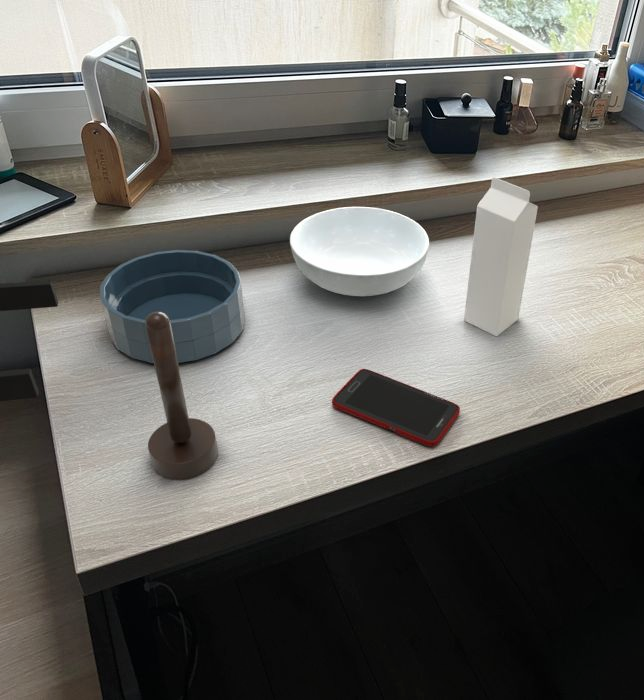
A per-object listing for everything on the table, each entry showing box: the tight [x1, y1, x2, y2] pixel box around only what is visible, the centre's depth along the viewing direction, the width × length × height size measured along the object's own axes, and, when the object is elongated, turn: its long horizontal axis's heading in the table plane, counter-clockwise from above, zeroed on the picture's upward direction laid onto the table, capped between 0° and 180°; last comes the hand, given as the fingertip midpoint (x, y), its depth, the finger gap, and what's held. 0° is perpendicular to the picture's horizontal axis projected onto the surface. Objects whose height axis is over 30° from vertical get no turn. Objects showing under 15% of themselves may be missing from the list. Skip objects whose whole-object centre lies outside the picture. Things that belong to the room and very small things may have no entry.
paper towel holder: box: [145, 312, 219, 481], centre depth 75 cm, size 7×7×20 cm
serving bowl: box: [289, 206, 430, 297], centre depth 111 cm, size 21×21×7 cm
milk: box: [463, 176, 539, 337], centre depth 101 cm, size 6×6×22 cm
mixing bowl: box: [99, 249, 246, 364], centre depth 97 cm, size 17×17×7 cm
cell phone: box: [331, 368, 461, 448], centre depth 90 cm, size 8×15×1 cm, turn 65°
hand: (45, 334), depth 67 cm, fingers open, 13 cm apart
